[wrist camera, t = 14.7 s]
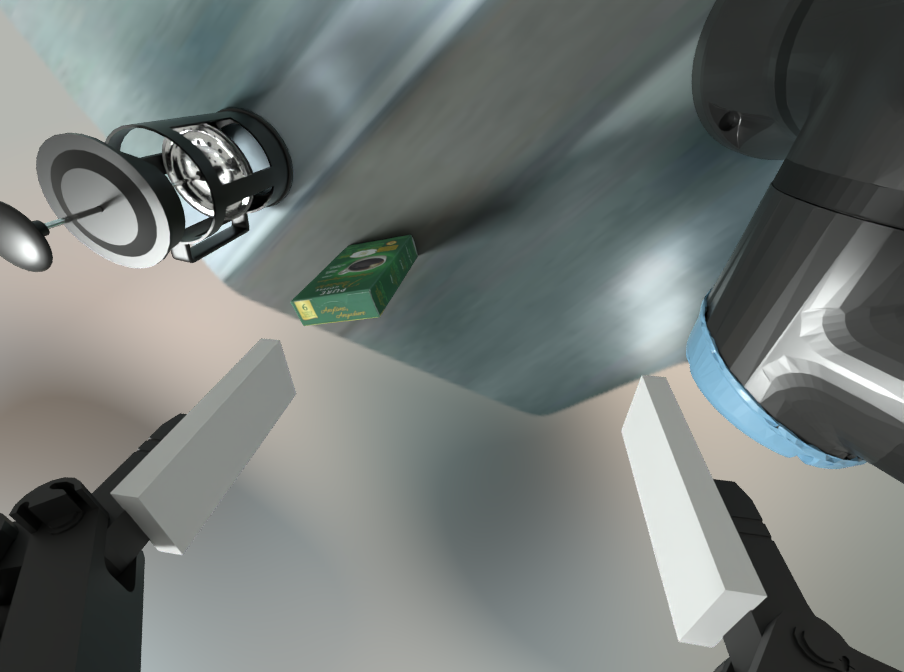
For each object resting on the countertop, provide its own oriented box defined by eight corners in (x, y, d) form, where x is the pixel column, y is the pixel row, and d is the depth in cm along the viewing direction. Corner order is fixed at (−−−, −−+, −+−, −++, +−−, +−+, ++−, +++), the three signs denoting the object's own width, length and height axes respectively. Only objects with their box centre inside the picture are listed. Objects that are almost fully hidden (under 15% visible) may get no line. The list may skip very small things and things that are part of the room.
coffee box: (354, 268, 45) (301, 329, 34) (345, 244, 44) (286, 301, 33) (419, 257, 43) (383, 319, 32) (412, 232, 42) (372, 288, 31)
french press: (194, 90, 37) (-147, 111, 18) (288, 110, 37) (39, 151, 18) (218, 211, 44) (-12, 317, 25) (297, 229, 43) (124, 349, 25)
